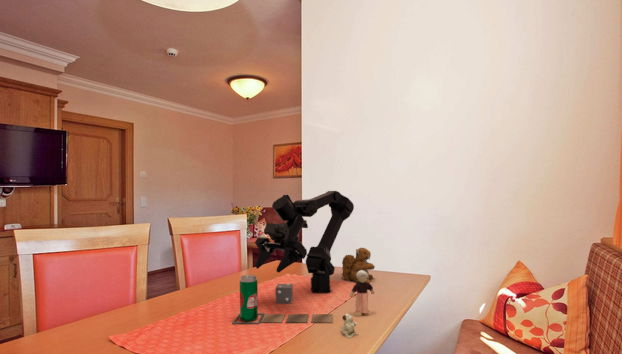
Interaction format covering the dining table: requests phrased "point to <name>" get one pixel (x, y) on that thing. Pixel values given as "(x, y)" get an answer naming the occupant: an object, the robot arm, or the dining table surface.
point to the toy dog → (348, 326)
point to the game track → (289, 318)
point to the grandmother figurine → (361, 293)
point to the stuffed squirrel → (357, 265)
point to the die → (284, 293)
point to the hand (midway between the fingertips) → (266, 269)
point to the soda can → (248, 298)
